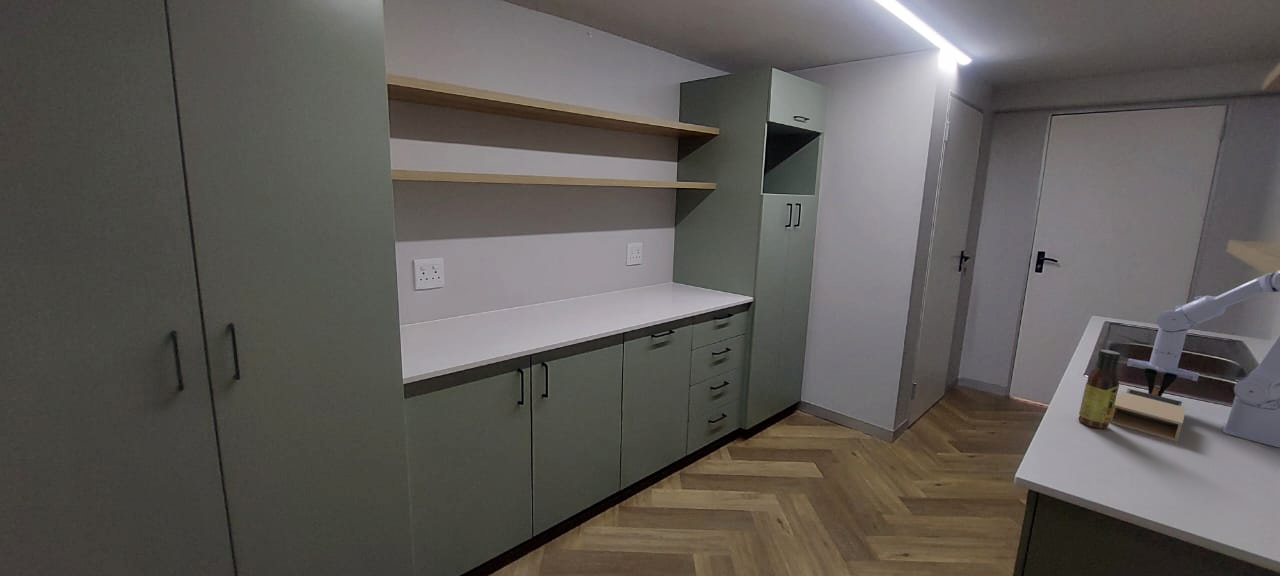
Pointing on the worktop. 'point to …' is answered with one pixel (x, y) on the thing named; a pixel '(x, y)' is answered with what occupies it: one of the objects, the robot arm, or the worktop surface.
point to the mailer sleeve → (1148, 409)
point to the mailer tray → (1155, 397)
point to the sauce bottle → (1100, 391)
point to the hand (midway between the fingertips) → (1154, 396)
